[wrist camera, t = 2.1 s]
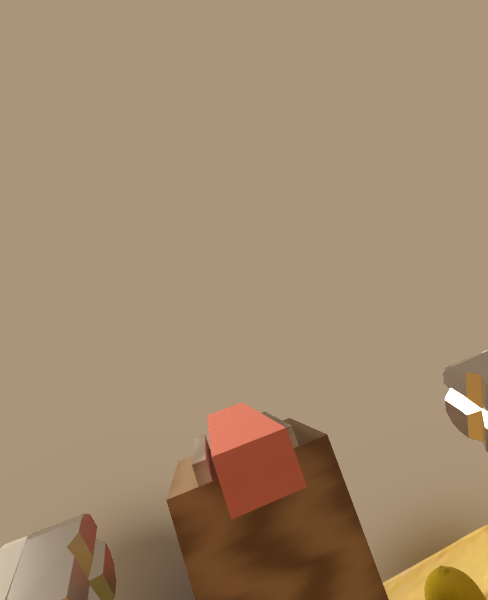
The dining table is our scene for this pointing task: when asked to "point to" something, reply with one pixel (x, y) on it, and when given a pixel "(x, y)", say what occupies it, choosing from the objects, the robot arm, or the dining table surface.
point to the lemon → (451, 585)
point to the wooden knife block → (274, 532)
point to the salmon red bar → (252, 459)
